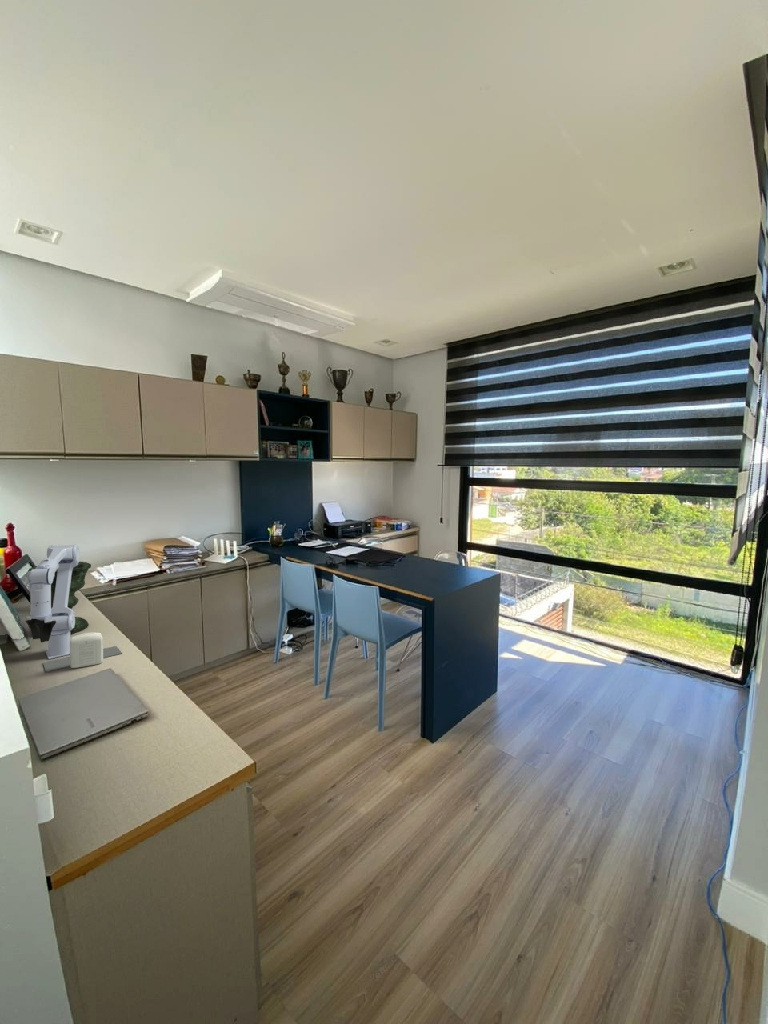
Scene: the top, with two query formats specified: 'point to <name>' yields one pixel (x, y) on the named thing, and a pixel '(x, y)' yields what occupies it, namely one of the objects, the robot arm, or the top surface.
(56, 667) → the mat
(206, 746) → the top surface
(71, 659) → the photo printer
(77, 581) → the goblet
